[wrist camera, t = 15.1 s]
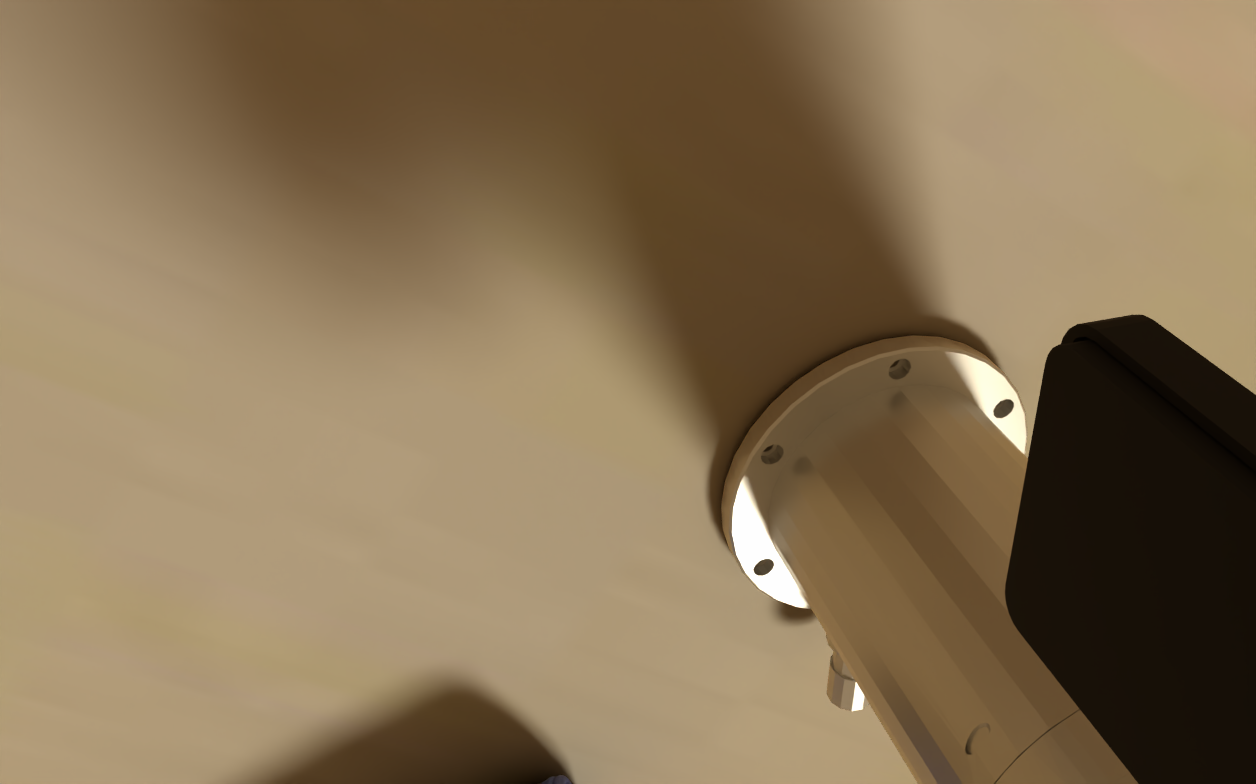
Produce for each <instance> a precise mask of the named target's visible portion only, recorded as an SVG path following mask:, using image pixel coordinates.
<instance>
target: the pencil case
mask: <svg viewBox="0 0 1256 784" xmlns="http://www.w3.org/2000/svg"><path fill="white" fill-rule="evenodd" d="M539 784H572V783H571V782H570V780H569V779H568V778H567V777H566V776H564V775H559V776H557V777H556V776H552V777H550V778H548V779H547V780H545V781H544V782H542V783H539Z"/></svg>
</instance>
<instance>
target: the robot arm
mask: <svg viewBox="0 0 1256 784" xmlns="http://www.w3.org/2000/svg"><path fill="white" fill-rule="evenodd" d="M1026 441H1027V424H1026V414H1025V409H1024V407H1023V404H1022V401H1021V399H1020V396H1019V393H1018V391H1017V389H1016V388H1015V387H1014V385H1013V384H1012V383H1011V381H1010V380H1009V379H1008V377H1007V376H1006V375H1005V373H1004V372H1003V371H1002V370H1000V369H999V368H998V367H997V366H996V365H995V364H994V363H993V362H992V361H991V360H990V359H989V358H988V357H986V356H985V355H984V354H982V353H980V352H979V351H977V350H975V349H973V348H972V347H970V346H968V345H966V344H965V343H961V342H957V341H954V340H950V339H946V338H943V337H935V336H916V335H911V336H904V337H896V338H889V339H882V340H879V341H876V342H873V343H869V344H866V345H863V346H860V347H856V348H853V349H851V350H849V351H847V352H845V353H843V354H841V355H838V356H836V357H834V358H832V359H830V360H828V361H826V362H824V363H822V364H821V365H819V366H818V367H816V368H815V369H813V370H812V371H810V372H809V373H807V374H806V375H804V376H803V377H801V378H800V379H798V380H797V381H796V382H794V383H793V384H792V385H791V386H790V387H789V388H788V389H787V390H785V391H784V392H783V393H782V394H781V395H780V396H779V397H778V398H777V399H776V400H774V401H773V402H772V403H771V404H770V405H769V406H768V408H767V409H766V410H765V411H764V413H763V414H762V415H761V416H760V417H759V419H758V420H757V421H756V422H755V423H754V425H753V426H752V427H751V428H750V430H749V432H748V433H747V435H746V437H745V438H744V440H743V442H742V443H741V445H740V447H739V449H738V450H737V452H736V454H735V456H734V458H733V461H732V464H731V466H730V469H729V472H728V475H727V477H726V480H725V485H724V491H723V497H722V504H721V512H722V526H723V532H724V535H725V538H726V541H727V544H728V546H729V549H730V551H731V553H732V555H733V557H734V558H735V560H736V562H737V563H738V565H739V567H740V569H741V571H742V572H743V574H744V575H745V576H746V577H747V578H748V579H749V580H750V581H751V582H752V584H753V585H754V586H755V587H756V588H757V589H759V590H760V591H762V592H763V593H765V594H767V595H768V596H770V597H771V598H773V599H774V600H777V601H780V602H783V603H785V604H788V605H791V606H794V607H799V608H806V609H812V611H813V612H814V614H815V616H816V617H817V619H818V620H819V622H820V624H821V625H822V627H823V629H824V630H825V632H826V638H827V642H828V645H829V646H830V647H831V648H832V649H833V655H832V656H831V659H830V667H829V675H828V683H827V695H828V697H829V699H830V701H831V702H832V703H833V704H835V705H836V706H838V707H839V708H841V709H845V710H849V711H855V710H862V709H864V708H865V707H867V706H868V705H869V704H870V706H871V707H872V709H873V711H874V712H875V714H876V716H877V717H878V719H879V720H880V722H881V724H882V725H883V727H884V729H885V730H886V732H887V734H888V735H889V737H890V738H891V740H892V742H893V743H894V745H895V747H896V748H897V750H898V752H899V753H900V755H901V757H902V758H903V760H904V761H905V763H906V765H907V766H908V768H909V770H910V771H911V773H912V775H913V776H914V778H915V779H916V781H917V783H918V784H1256V395H1255V394H1254V393H1252V392H1251V391H1249V390H1248V389H1247V388H1245V387H1244V386H1243V385H1241V384H1240V383H1239V382H1237V381H1236V380H1234V379H1233V378H1232V377H1230V376H1229V375H1228V374H1226V373H1225V372H1224V371H1222V370H1221V369H1219V368H1218V367H1217V366H1215V365H1214V364H1213V363H1211V362H1210V361H1209V360H1207V359H1206V358H1204V357H1203V356H1202V355H1200V354H1199V353H1198V352H1196V351H1195V350H1194V349H1192V348H1191V347H1189V346H1188V345H1187V344H1185V343H1184V342H1183V341H1181V340H1180V339H1178V338H1177V337H1176V336H1174V335H1173V334H1172V333H1170V332H1169V331H1168V330H1166V329H1165V328H1163V327H1162V326H1161V325H1159V324H1158V323H1157V322H1155V321H1154V320H1152V319H1150V318H1148V317H1146V316H1144V315H1129V316H1123V317H1117V318H1111V319H1106V320H1100V321H1094V322H1088V323H1082V324H1077V325H1075V326H1074V327H1072V328H1070V329H1069V330H1068V331H1067V333H1066V334H1065V336H1064V337H1063V339H1062V343H1061V345H1058V346H1056V347H1054V348H1052V350H1051V351H1050V353H1049V354H1048V357H1047V360H1046V363H1045V368H1044V374H1043V379H1042V385H1041V390H1040V396H1039V401H1038V407H1037V412H1036V418H1035V424H1034V429H1033V435H1032V440H1031V446H1030V451H1029V457H1028V458H1027V457H1026V456H1025V449H1026Z"/></svg>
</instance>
